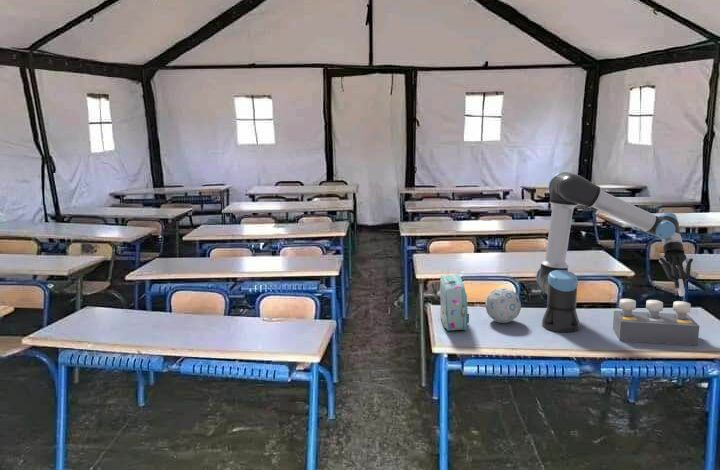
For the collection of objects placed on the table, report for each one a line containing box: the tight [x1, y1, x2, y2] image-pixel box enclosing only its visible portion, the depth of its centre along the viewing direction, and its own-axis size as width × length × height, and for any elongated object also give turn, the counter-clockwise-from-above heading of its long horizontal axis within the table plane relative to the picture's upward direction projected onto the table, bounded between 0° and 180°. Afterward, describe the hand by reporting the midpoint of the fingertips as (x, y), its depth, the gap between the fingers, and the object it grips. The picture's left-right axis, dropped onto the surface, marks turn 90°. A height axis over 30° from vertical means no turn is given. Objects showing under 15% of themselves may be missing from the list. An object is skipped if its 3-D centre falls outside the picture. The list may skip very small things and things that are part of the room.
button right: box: [672, 300, 692, 320], centre depth 229 cm, size 6×6×8 cm
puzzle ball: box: [484, 287, 522, 324], centre depth 251 cm, size 15×15×15 cm
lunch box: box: [439, 273, 470, 332], centre depth 248 cm, size 27×10×21 cm, turn 179°
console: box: [612, 310, 700, 346], centre depth 230 cm, size 28×14×8 cm, turn 77°
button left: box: [618, 298, 637, 317], centre depth 233 cm, size 6×6×8 cm
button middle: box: [645, 299, 664, 318], centre depth 231 cm, size 6×6×8 cm
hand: (682, 294), depth 231 cm, fingers closed
